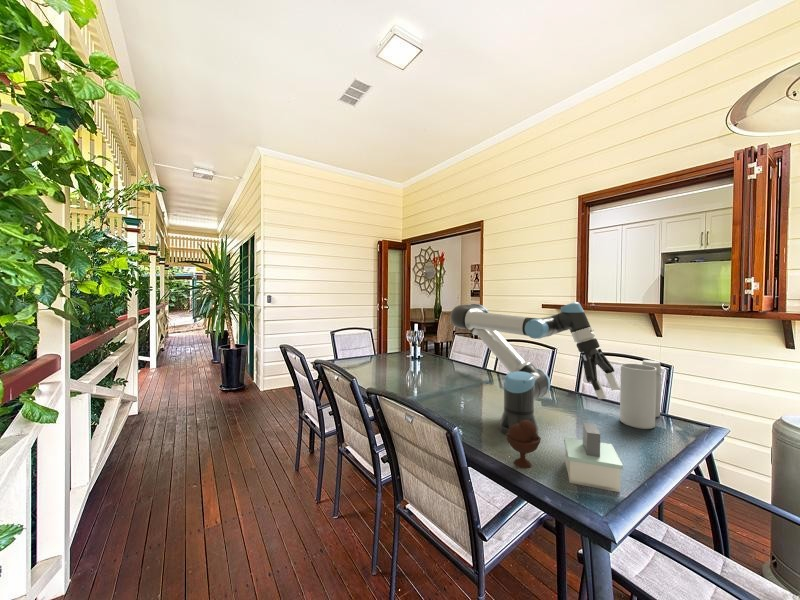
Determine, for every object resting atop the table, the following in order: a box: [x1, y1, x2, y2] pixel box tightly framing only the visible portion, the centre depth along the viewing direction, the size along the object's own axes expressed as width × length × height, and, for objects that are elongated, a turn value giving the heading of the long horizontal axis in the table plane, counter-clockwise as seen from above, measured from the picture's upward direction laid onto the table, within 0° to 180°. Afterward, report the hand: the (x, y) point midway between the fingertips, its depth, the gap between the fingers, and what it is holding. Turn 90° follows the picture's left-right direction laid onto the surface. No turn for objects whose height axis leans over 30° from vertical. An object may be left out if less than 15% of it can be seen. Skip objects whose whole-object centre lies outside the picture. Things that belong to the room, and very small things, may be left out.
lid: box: [563, 422, 624, 471], centre depth 104 cm, size 14×14×9 cm
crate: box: [564, 448, 622, 493], centre depth 104 cm, size 13×13×7 cm
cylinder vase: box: [619, 363, 657, 430], centre depth 144 cm, size 12×12×25 cm
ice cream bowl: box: [505, 420, 542, 469], centre depth 111 cm, size 11×11×15 cm
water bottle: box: [641, 359, 663, 418], centre depth 154 cm, size 9×8×25 cm
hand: (609, 394), depth 125 cm, fingers open, 13 cm apart
